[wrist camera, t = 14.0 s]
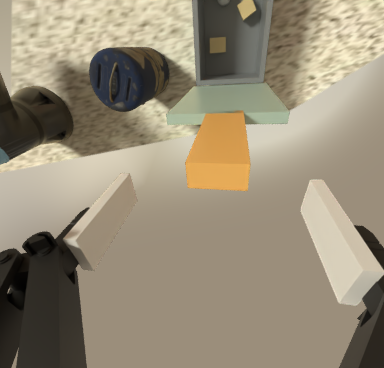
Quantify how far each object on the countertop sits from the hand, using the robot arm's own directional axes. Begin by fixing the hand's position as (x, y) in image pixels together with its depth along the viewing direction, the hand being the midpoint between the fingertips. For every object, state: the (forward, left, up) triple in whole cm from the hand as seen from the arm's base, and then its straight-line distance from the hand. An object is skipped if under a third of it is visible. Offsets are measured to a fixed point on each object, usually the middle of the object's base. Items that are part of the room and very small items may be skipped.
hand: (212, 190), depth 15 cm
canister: (-18, +5, -38) cm, 42 cm away
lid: (0, +3, -14) cm, 14 cm away
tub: (0, +12, -37) cm, 39 cm away
